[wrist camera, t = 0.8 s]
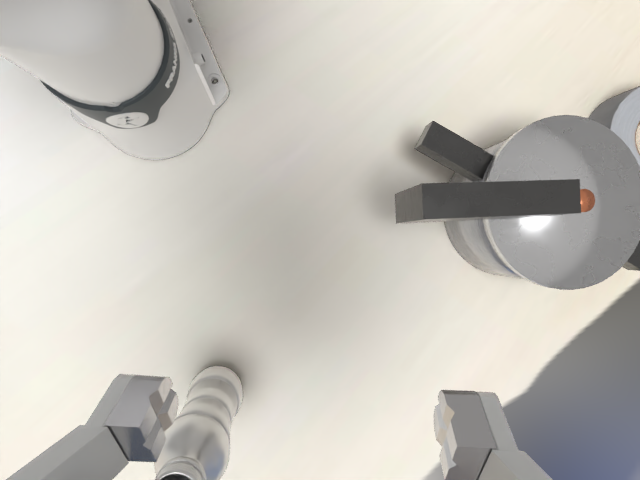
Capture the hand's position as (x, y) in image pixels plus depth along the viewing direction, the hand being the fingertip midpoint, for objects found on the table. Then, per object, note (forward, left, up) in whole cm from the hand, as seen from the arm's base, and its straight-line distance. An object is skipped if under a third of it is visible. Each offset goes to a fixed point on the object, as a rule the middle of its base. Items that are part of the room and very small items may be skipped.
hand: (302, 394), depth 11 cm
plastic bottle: (+12, -11, -37) cm, 40 cm away
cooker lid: (-3, +27, -26) cm, 38 cm away
